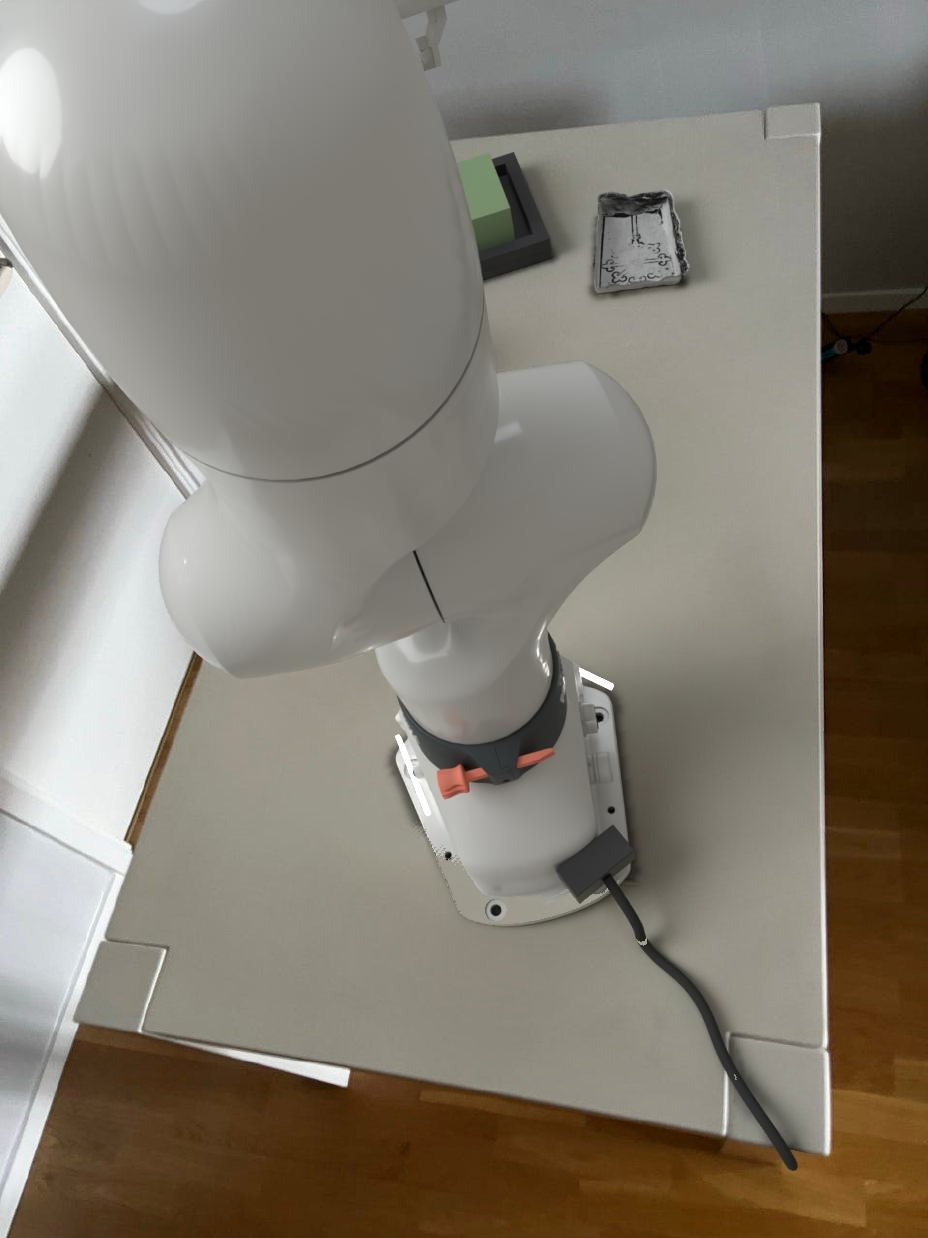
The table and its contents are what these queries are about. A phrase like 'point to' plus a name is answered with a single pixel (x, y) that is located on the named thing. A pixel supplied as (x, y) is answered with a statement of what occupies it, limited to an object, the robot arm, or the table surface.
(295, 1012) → the table surface
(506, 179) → the black square tray
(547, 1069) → the table surface
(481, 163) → the green block
